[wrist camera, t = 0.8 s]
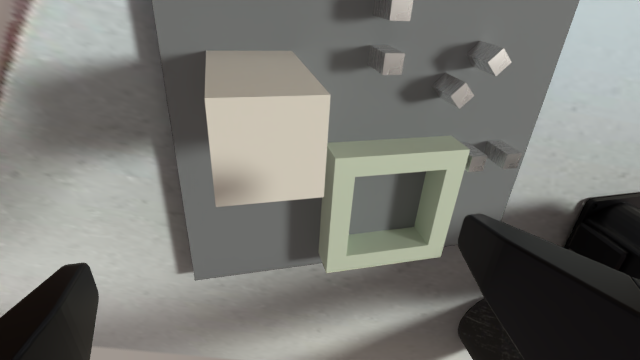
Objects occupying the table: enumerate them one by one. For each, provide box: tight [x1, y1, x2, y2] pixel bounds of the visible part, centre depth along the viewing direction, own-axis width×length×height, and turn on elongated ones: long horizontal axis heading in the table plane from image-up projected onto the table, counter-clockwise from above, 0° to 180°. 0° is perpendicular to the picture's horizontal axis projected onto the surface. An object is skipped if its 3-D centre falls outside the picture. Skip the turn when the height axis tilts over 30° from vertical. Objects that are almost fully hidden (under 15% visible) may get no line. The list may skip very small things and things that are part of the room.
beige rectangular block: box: [205, 51, 331, 207], centre depth 16 cm, size 4×4×7 cm
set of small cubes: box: [368, 0, 522, 172], centre depth 21 cm, size 10×9×2 cm
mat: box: [152, 0, 579, 280], centre depth 23 cm, size 22×17×1 cm
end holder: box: [319, 136, 470, 273], centre depth 23 cm, size 8×8×2 cm
